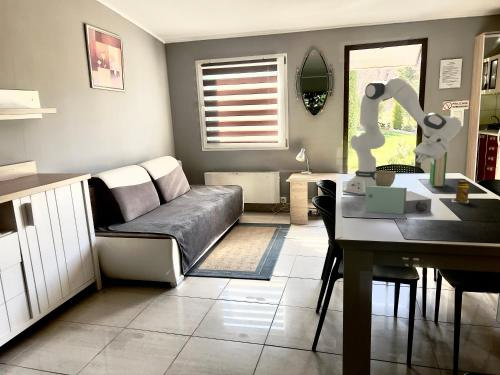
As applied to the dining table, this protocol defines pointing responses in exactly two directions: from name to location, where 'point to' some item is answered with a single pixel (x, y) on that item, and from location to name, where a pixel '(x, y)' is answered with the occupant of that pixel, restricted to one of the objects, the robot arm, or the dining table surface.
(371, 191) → the side door
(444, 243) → the dining table surface
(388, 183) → the planter bowl
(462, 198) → the condiment
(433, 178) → the hardback book
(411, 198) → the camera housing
